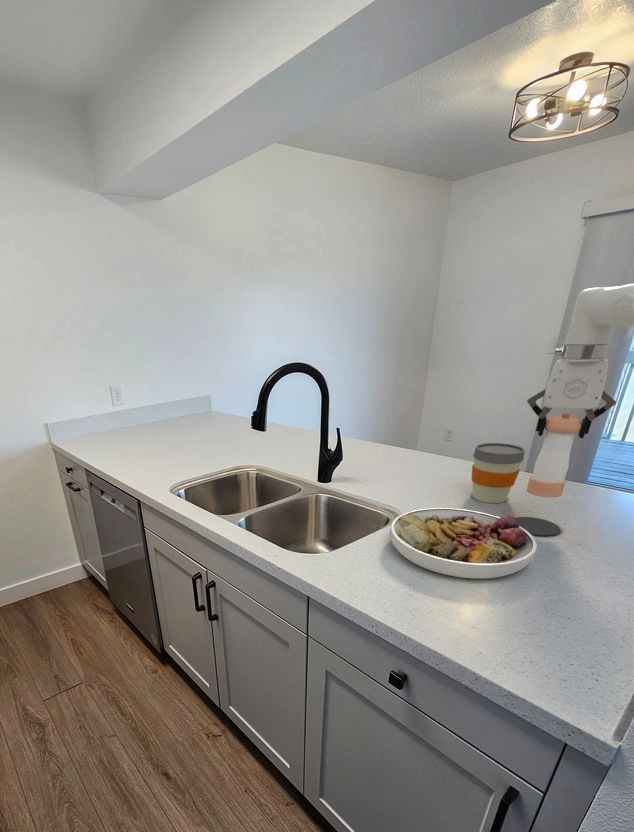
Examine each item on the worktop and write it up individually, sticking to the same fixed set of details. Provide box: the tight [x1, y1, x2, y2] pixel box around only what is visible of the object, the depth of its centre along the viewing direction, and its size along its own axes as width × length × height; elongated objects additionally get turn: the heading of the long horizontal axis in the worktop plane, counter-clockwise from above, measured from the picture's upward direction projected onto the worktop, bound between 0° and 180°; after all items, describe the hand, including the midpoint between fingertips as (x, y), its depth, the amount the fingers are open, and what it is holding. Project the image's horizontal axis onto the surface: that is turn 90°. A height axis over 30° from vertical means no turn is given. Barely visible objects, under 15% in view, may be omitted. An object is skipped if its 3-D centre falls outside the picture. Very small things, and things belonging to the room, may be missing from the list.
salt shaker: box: [526, 412, 582, 499], centre depth 103 cm, size 7×7×19 cm
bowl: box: [389, 507, 538, 580], centre depth 101 cm, size 30×30×8 cm
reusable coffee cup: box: [471, 442, 526, 504], centre depth 127 cm, size 13×13×15 cm
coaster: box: [516, 516, 561, 537], centre depth 111 cm, size 11×11×1 cm
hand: (560, 435), depth 101 cm, fingers closed on salt shaker, 7 cm apart
